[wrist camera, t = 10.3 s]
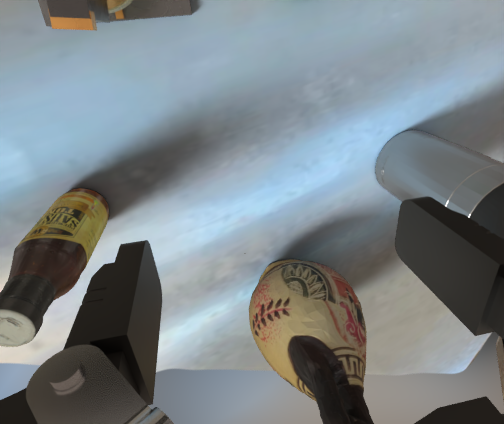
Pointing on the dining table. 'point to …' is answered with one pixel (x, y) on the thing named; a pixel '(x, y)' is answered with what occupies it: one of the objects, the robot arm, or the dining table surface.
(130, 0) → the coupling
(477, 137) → the dining table surface
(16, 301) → the sauce bottle
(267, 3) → the dining table surface
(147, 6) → the grey base fixture
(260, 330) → the ceramic jug
